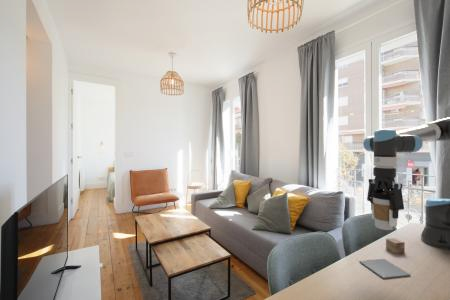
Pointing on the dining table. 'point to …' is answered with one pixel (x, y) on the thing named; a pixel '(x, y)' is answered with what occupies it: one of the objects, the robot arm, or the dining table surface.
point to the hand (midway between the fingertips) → (383, 222)
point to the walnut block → (395, 245)
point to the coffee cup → (381, 210)
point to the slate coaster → (384, 268)
